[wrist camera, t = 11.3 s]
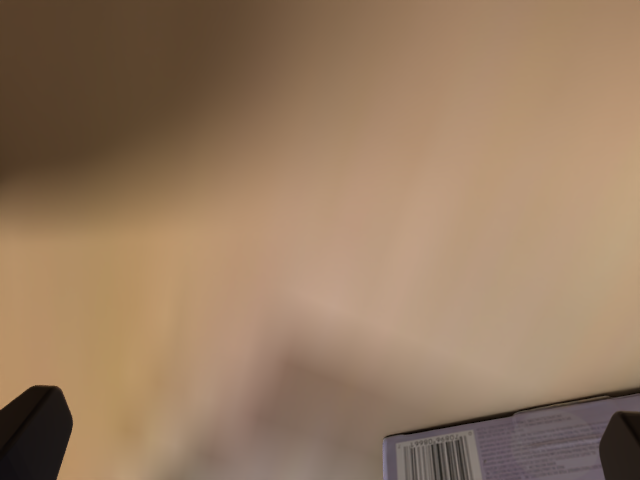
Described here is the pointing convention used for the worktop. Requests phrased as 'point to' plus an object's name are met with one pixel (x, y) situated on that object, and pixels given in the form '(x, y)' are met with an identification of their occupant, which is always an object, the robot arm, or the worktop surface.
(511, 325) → the worktop surface
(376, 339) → the worktop surface
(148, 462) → the worktop surface
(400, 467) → the cake pan box
